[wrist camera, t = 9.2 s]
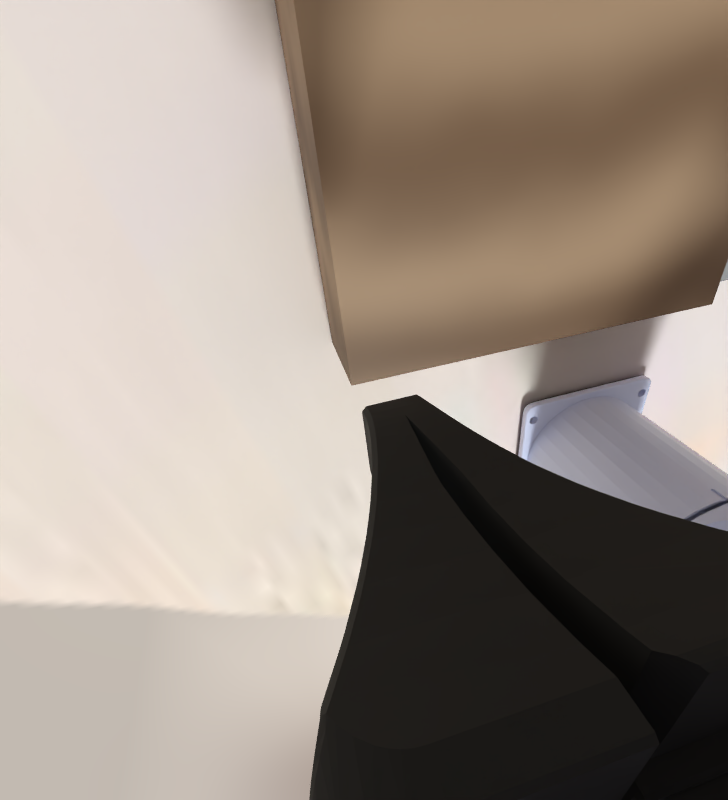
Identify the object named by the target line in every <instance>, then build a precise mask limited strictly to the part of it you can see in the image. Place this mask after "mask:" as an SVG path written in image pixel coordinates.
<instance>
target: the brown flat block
mask: <svg viewBox="0 0 728 800" xmlns="http://www.w3.org/2000/svg"><path fill="white" fill-rule="evenodd" d="M275 4H276V10H277V16H278V22H279V28H280V34H281V40H282V46H283V52H284V58H285V63H286V69H287V75H288V81H289V87H290V93H291V99H292V105H293V111H294V117H295V123H296V129H297V135H298V141H299V147H300V152H301V158H302V164H303V170H304V176H305V182H306V188H307V194H308V200H309V206H310V212H311V218H312V224H313V230H314V236H315V241H316V247H317V253H318V259H319V265H320V271H321V277H322V283H323V289H324V295H325V301H326V307H327V313H328V319H329V325H330V330H331V336H332V342H333V345H334V347H335V349H336V352H337V354H338V356H339V358H340V361H341V363H342V365H343V367H344V370H345V372H346V374H347V376H348V379H349V381H350V383H351V385H356V384H361V383H365V382H369V381H374V380H378V379H383V378H387V377H392V376H396V375H400V374H405V373H409V372H414V371H418V370H423V369H427V368H431V367H436V366H440V365H445V364H449V363H453V362H458V361H462V360H467V359H471V358H476V357H480V356H484V355H489V354H493V353H498V352H502V351H507V350H511V349H515V348H520V347H524V346H529V345H533V344H538V343H542V342H546V341H551V340H555V339H560V338H564V337H568V336H573V335H577V334H582V333H586V332H591V331H595V330H599V329H604V328H608V327H613V326H617V325H622V324H626V323H630V322H635V321H639V320H644V319H648V318H652V317H657V316H661V315H666V314H670V313H675V312H679V311H683V310H688V309H692V308H697V307H701V306H706V305H710V304H712V303H713V300H714V297H715V294H716V292H717V289H718V286H719V283H720V280H721V277H722V275H723V272H724V269H725V266H726V263H727V260H728V0H275Z"/></svg>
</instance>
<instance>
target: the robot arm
mask: <svg viewBox="0 0 728 800" xmlns="http://www.w3.org/2000/svg"><path fill="white" fill-rule="evenodd" d="M650 384H651V380H650V379H649V378H648V377H646V376H638V377H634V378H630V379H626V380H622V381H618V382H613V383H609V384H605V385H601V386H597V387H593V388H589V389H585V390H581V391H577V392H573V393H569V394H565V395H561V396H557V397H553V398H549V399H545V400H541V401H537V402H533V403H530V404H528V405H527V406H526V407H525V408H524V411H523V418H522V427H521V436H520V445H519V454H518V456H517V455H515V454H513V453H512V452H510V451H508V450H506V449H504V448H502V447H500V446H498V445H497V444H495V443H493V442H491V441H489V440H488V439H486V438H484V437H483V436H481V435H479V434H477V433H476V432H474V431H472V430H471V429H469V428H468V427H466V426H464V425H463V424H461V423H460V422H458V421H456V420H455V419H453V418H452V417H450V416H449V415H447V414H446V413H444V412H442V411H441V410H439V409H438V408H436V407H435V406H433V405H432V404H430V403H429V402H427V401H426V400H424V399H423V398H421V397H420V396H418V395H413V396H409V397H404V398H400V399H396V400H391V401H387V402H383V403H379V404H374V405H370V406H366V408H365V409H364V410H363V411H362V414H363V421H364V428H365V435H366V442H367V450H368V457H369V464H370V470H371V474H372V486H371V502H370V512H369V521H368V528H367V535H366V541H365V547H364V552H363V558H362V564H361V569H360V573H359V578H358V582H357V587H356V591H355V595H354V598H353V602H352V606H351V610H350V614H349V618H348V622H347V626H346V630H345V633H344V637H343V640H342V644H341V647H340V650H339V653H338V656H337V660H336V663H335V666H334V669H333V672H332V675H331V678H330V681H329V684H328V687H327V690H326V694H325V697H324V700H323V703H322V706H321V713H320V723H319V729H318V736H317V742H316V749H315V756H314V764H313V771H312V779H311V788H310V800H728V474H727V473H725V472H724V471H722V470H721V469H719V468H718V467H717V466H715V465H714V464H712V463H711V462H709V461H708V460H707V459H705V458H704V457H702V456H701V455H699V454H698V453H697V452H695V451H694V450H692V449H691V448H689V447H688V446H687V445H685V444H684V443H682V442H681V441H679V440H678V439H677V438H675V437H674V436H672V435H671V434H669V433H668V432H667V431H665V430H664V429H662V428H661V427H659V426H658V425H657V424H655V423H654V422H652V421H651V420H649V419H648V418H647V417H645V416H644V415H642V411H643V407H644V404H645V401H646V397H647V394H648V391H649V387H650ZM532 417H533V418H532ZM531 418H532V419H531ZM530 419H531V420H530Z"/></svg>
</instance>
